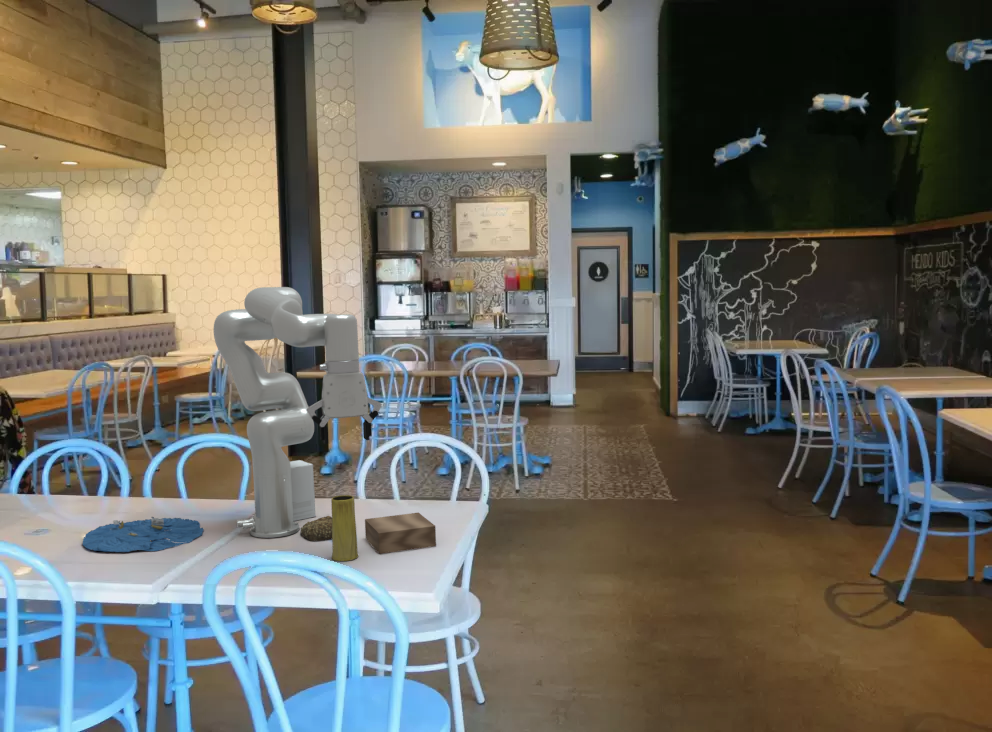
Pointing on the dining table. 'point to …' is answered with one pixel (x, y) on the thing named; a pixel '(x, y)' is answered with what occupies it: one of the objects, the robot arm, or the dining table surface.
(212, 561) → the dining table surface
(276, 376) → the robot arm
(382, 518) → the block
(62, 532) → the dining table surface
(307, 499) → the supplement box
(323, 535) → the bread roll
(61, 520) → the dining table surface
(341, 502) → the vase
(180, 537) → the decorative plate
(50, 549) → the dining table surface
